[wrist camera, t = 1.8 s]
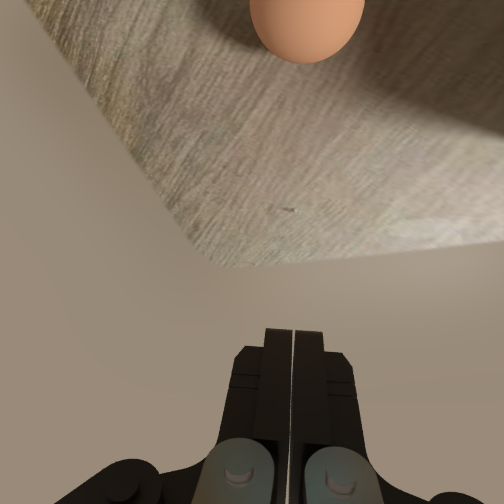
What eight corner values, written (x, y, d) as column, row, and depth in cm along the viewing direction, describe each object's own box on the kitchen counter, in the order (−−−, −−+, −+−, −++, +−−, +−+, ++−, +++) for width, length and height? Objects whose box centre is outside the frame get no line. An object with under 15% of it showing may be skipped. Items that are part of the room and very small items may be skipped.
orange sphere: (345, -74, 21) (359, -111, 16) (366, 43, 23) (384, 42, 18) (242, -33, 22) (225, -55, 17) (271, 75, 24) (264, 82, 19)
